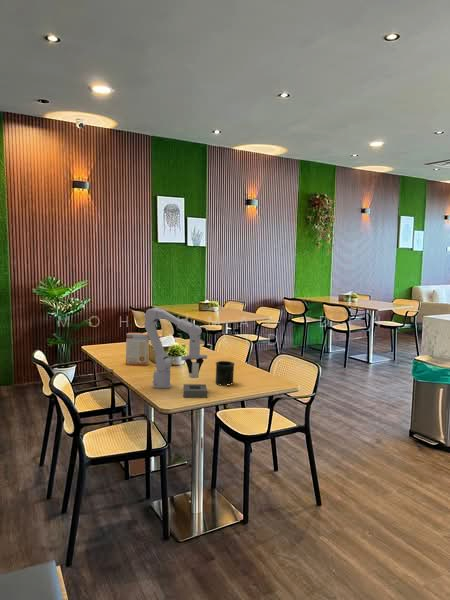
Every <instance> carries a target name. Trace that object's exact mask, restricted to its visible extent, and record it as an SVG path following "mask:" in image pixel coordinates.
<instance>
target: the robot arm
mask: <svg viewBox="0 0 450 600" xmlns="http://www.w3.org/2000/svg"><path fill="white" fill-rule="evenodd" d="M162 319H164V320H166V321H168V322H170V323H173V324H174V325H176V326H177V329H179V330H180V331H183V332H185V333H187V334H188V336H189V347H188V350H189V351H188V355H183V356H180V358H181V359H180V360H181V361H183V362H185V364H186V366H187V369H188V374H189V373H191V371H192V362H193V361H192V360H196V361H195V362H198V363H199V372H200V371H201V367H202V365H203V363H204V360H207V359H208V355H207V354H201V353H200V351H201V334H202V331H203V330H202V328H201V326H200V325H198V324H195V323H191V322H190V321H188V319H187V318H181V319H180V318H178V317H176V316H175V315H173V314H172V313H170V312H168V311H167V310H165V309H163V308H161V307H158V306H156V307H153V308H148V309H147V310H146V312H145V313H144V328H145V330H146V333H147V334H148V336H149V343H150V344H151V346H152V349H153V352H154V354H155V358H154V361H155V368H156V370H154V369H153V375H152V376H153V377H152V378H153V380H152V388H154V389H170V388H171V387H172V386H171V385H172V383H171V367H172V365H173V360H172V359H171V357H170V356H169V354H168V353H167V352H166V351H165V347H164V346H163V342H162V341H161V338H160V336H159V333H158V330H157V327H156V325H157V322H158V321H159V320H162Z"/></svg>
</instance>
